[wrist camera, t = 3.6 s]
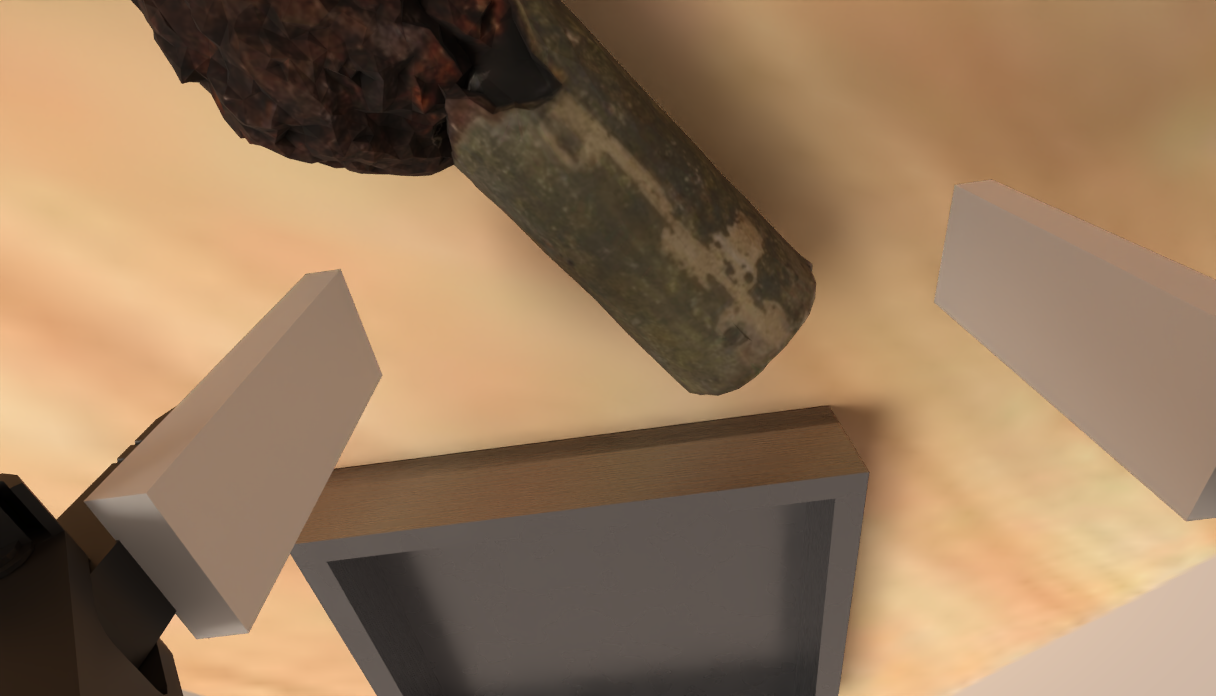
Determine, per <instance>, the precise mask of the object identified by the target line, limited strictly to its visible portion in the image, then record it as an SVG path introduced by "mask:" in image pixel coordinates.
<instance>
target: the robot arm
mask: <svg viewBox="0 0 1216 696" xmlns="http://www.w3.org/2000/svg"><path fill="white" fill-rule="evenodd" d="M934 303H935V304H937V305H938V306H939V307H940V308H941V309H942V310H943V311H945V312H946V313H947V314H948V315H949V316H950V317H952V318H953V319H954V320H955V321H956V322H957V323H958V324H960V325H961V326H962V327H963V328H964V329H965V330H966V331H968V332H969V333H970V334H971V335H972V336H973V337H975V338H976V339H977V340H978V341H979V342H980V343H981V344H983V345H984V346H985V347H986V348H987V349H988V350H989V351H991V352H992V353H993V354H994V355H995V356H996V357H998V358H999V359H1000V360H1001V361H1002V362H1003V363H1004V364H1006V365H1007V366H1008V367H1009V368H1010V369H1011V370H1013V371H1014V372H1015V373H1016V374H1017V375H1018V376H1019V377H1021V378H1022V379H1023V380H1024V381H1025V382H1026V383H1027V384H1029V385H1030V386H1031V387H1032V388H1033V389H1034V390H1036V391H1037V392H1038V393H1039V394H1040V395H1041V396H1042V397H1044V398H1045V399H1046V400H1047V401H1048V402H1049V403H1051V404H1052V405H1053V406H1054V407H1055V408H1056V409H1057V410H1059V411H1060V412H1061V413H1062V414H1063V415H1064V416H1065V417H1067V418H1068V419H1069V420H1070V421H1071V422H1072V423H1074V424H1075V425H1076V426H1077V427H1078V428H1079V429H1080V430H1082V431H1083V432H1084V433H1085V434H1086V435H1087V436H1089V437H1090V438H1091V439H1092V440H1093V441H1094V442H1095V443H1097V444H1098V445H1099V446H1100V447H1101V448H1102V449H1103V450H1105V451H1106V452H1107V453H1108V454H1109V455H1110V456H1112V457H1113V458H1114V459H1115V460H1116V461H1117V462H1118V463H1120V464H1121V465H1122V466H1123V467H1124V468H1125V469H1126V470H1128V471H1129V472H1130V473H1131V474H1132V475H1133V476H1135V477H1136V478H1137V479H1138V480H1139V481H1140V482H1141V483H1143V484H1144V485H1145V486H1146V487H1147V488H1148V489H1150V490H1151V491H1152V492H1153V493H1154V494H1155V495H1156V496H1158V497H1159V498H1160V499H1161V500H1162V501H1163V502H1164V503H1166V504H1167V505H1168V506H1169V507H1170V508H1171V509H1173V510H1174V511H1175V512H1176V513H1177V514H1178V515H1179V516H1181V517H1182V518H1183V519H1184V520H1185V521H1193V520H1201V519H1209V518H1216V280H1215V279H1213V278H1211V277H1208V276H1206V275H1204V274H1202V273H1199V272H1197V271H1195V270H1193V269H1190V268H1188V267H1186V266H1184V265H1182V264H1179V263H1177V262H1175V261H1173V260H1170V259H1168V258H1166V257H1164V256H1162V255H1159V254H1157V253H1155V252H1153V251H1150V250H1148V249H1146V248H1144V247H1141V246H1139V245H1137V244H1135V243H1133V242H1130V241H1128V240H1126V239H1124V238H1121V237H1119V236H1117V235H1115V234H1112V233H1110V232H1108V231H1106V230H1104V229H1101V228H1099V227H1097V226H1095V225H1092V224H1090V223H1088V222H1086V221H1084V220H1081V219H1079V218H1077V217H1075V216H1072V215H1070V214H1068V213H1066V212H1063V211H1061V210H1059V209H1057V208H1055V207H1052V206H1050V205H1048V204H1046V203H1043V202H1041V201H1039V200H1037V199H1034V198H1032V197H1030V196H1028V195H1026V194H1023V193H1021V192H1019V191H1017V190H1014V189H1012V188H1010V187H1008V186H1006V185H1003V184H1001V183H999V182H997V181H994V180H992V179H991V180H984V181H977V182H970V183H962V184H955V186H954V192H953V197H952V203H951V209H950V214H949V220H948V226H947V231H946V237H945V243H944V248H943V254H942V260H941V265H940V271H939V277H938V282H937V288H936V294H935V299H934ZM381 377H382V373H381V370H380V368H379V365H378V363H377V360H376V358H375V355H374V353H373V350H372V348H371V345H370V343H369V340H368V337H367V335H366V332H365V330H364V327H363V325H362V322H361V320H360V317H359V315H358V312H357V309H356V307H355V304H354V302H353V299H352V297H351V294H350V292H349V289H348V287H347V284H346V282H345V279H344V276H343V274H342V271H341V269H338V270H331V271H324V272H316V273H309V274H305V275H304V276H303V277H302V278H301V279H300V280H299V281H298V282H297V284H296V285H295V286H294V287H293V288H292V289H291V290H290V291H289V292H288V293H287V294H286V295H285V296H284V297H283V298H282V299H281V300H280V301H279V302H278V303H277V304H276V305H275V306H274V307H273V308H272V309H271V310H270V311H269V312H268V313H267V314H266V315H265V316H264V317H263V318H262V319H261V320H260V321H259V322H258V323H257V324H256V325H255V326H254V327H253V328H252V330H251V331H250V332H249V333H248V334H247V335H246V336H245V337H244V338H243V339H242V340H241V341H240V342H239V343H238V344H237V345H236V346H235V347H234V348H233V349H232V350H231V351H230V352H229V353H228V354H227V355H226V356H225V357H224V358H223V359H222V360H221V361H220V362H219V363H218V364H217V365H216V366H215V367H214V368H213V369H212V370H211V371H210V372H209V373H208V375H207V376H206V377H205V378H204V379H203V380H202V381H201V382H200V383H199V384H198V385H197V386H196V387H195V388H194V389H193V390H192V391H191V392H190V393H189V394H188V395H187V396H186V397H185V398H184V399H183V400H182V401H181V402H180V403H179V404H178V405H177V406H176V407H174V408H173V409H171V410H170V411H168V412H167V413H165V414H164V415H162V416H161V417H159V418H158V419H156V420H155V421H154V422H153V423H152V424H151V425H150V426H149V427H148V428H147V429H146V430H145V431H144V432H143V433H142V434H141V435H140V436H139V437H138V438H137V439H136V440H135V445H130V446H129V447H128V448H127V449H126V450H125V451H124V452H123V453H122V454H121V455H120V456H119V457H118V458H117V460H118V462H117V463H113V464H111V465H110V466H109V467H108V468H107V469H106V470H105V472H104V473H103V474H102V475H101V476H100V477H99V478H98V479H97V480H96V481H95V482H94V483H93V484H92V485H91V486H90V487H89V488H88V489H87V490H86V491H85V492H84V493H83V494H82V495H81V496H80V497H79V498H78V499H77V500H76V501H75V502H74V503H73V504H72V505H71V506H70V507H69V508H68V509H67V510H66V511H65V512H64V513H63V514H62V515H61V516H60V517H59V518H58V519H57V520H56V519H55V518H54V516H53V515H52V514H51V513H50V512H49V511H48V510H47V508H46V507H45V506H44V505H43V504H42V503H41V502H40V500H39V499H38V498H37V497H36V496H35V495H34V494H33V492H32V491H31V490H30V489H29V488H28V487H27V486H26V484H25V483H24V482H23V481H22V480H21V479H20V477H19V476H18V475H12V474H3V473H2V474H0V696H183V693H182V689H181V686H180V682H179V678H178V674H177V670H176V666H175V662H174V658H173V655H172V653H171V651H170V650H169V649H168V647H167V646H166V645H165V644H164V643H163V641H162V640H161V639H160V636H161V634H162V633H163V631H164V630H165V628H166V627H167V625H168V624H169V622H170V621H171V619H172V618H173V616H174V615H175V614H176V615H177V616H178V617H179V618H180V620H181V621H182V622H183V623H184V625H185V626H186V627H187V628H188V629H189V631H190V632H191V633H192V634H193V636H194V637H195V638H196V639H203V638H211V637H220V636H228V635H237V634H245V633H249V632H250V630H251V628H252V626H253V624H254V622H255V620H256V618H257V616H258V614H259V612H260V610H261V608H262V606H263V605H264V603H265V601H266V599H267V597H268V595H269V593H270V591H271V589H272V587H273V585H274V583H275V581H276V579H277V577H278V576H279V574H280V572H281V570H282V568H283V566H284V564H285V562H286V560H287V558H288V556H289V554H290V552H291V550H292V549H293V547H294V545H295V543H296V541H297V539H298V537H299V535H300V533H301V531H302V529H303V527H304V525H305V523H306V521H307V520H308V518H309V516H310V514H311V512H312V510H313V508H314V506H315V504H316V502H317V500H318V498H319V496H320V494H321V492H322V491H323V489H324V487H325V485H326V483H327V481H328V479H329V477H330V475H331V473H332V471H333V469H334V467H335V465H336V464H337V462H338V460H339V458H340V456H341V454H342V452H343V450H344V448H345V446H346V444H347V442H348V440H349V438H350V436H351V435H352V433H353V431H354V429H355V427H356V425H357V423H358V421H359V419H360V417H361V415H362V413H363V411H364V409H365V407H366V406H367V404H368V402H369V400H370V398H371V396H372V394H373V392H374V390H375V388H376V386H377V384H378V382H379V380H380V379H381Z"/></svg>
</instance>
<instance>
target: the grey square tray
mask: <svg viewBox="0 0 1216 696" xmlns="http://www.w3.org/2000/svg"><path fill="white" fill-rule="evenodd" d="M868 477H869V471H868V469H867V468H866V466H865V464H864V463H863V461H862V459H861V458H860V456H859V454H858V453H857V451H856V450H855V448H854V446H853V445H852V443H851V441H850V440H849V438H848V436H847V435H846V433H845V431H844V430H843V428H842V426H841V425H840V423H839V421H838V420H837V418H836V417H835V415H834V413H833V412H832V410H831V408H830V407H829V406H823V407H816V408H808V409H800V410H792V411H785V412H777V413H769V414H761V415H754V416H746V417H738V418H730V419H722V420H715V421H707V422H699V423H691V424H684V425H676V426H668V427H660V428H653V429H645V430H637V431H629V432H621V433H614V434H606V435H598V436H590V437H583V438H575V439H567V440H559V441H551V442H544V443H536V444H528V445H520V446H513V447H505V448H497V449H489V450H482V451H474V452H466V453H458V454H450V455H443V456H435V457H427V458H419V459H412V460H404V461H396V462H388V463H381V464H373V465H365V466H357V467H349V468H342V469H334V470H333V471H332V473H331V475H330V477H329V479H328V481H327V483H326V485H325V487H324V489H323V491H322V492H321V494H320V496H319V498H318V500H317V502H316V504H315V506H314V508H313V510H312V512H311V514H310V516H309V518H308V520H307V521H306V523H305V525H304V527H303V529H302V531H301V533H300V535H299V537H298V539H297V541H296V543H295V545H294V547H293V549H292V550H291V552H290V554H291V556H292V557H293V559H294V561H295V562H296V564H297V565H298V567H299V569H300V570H301V572H302V574H303V575H304V577H305V579H306V580H307V582H308V583H309V585H310V587H311V588H312V590H313V592H314V593H315V595H316V597H317V598H318V600H319V601H320V603H321V605H322V606H323V608H324V610H325V611H326V613H327V615H328V616H329V618H330V619H331V621H332V623H333V624H334V626H335V628H336V629H337V631H338V633H339V634H340V636H341V637H342V639H343V641H344V642H345V644H346V646H347V647H348V649H349V651H350V652H351V654H352V655H353V657H354V659H355V660H356V662H357V664H358V665H359V667H360V669H361V670H362V672H363V673H364V675H365V677H366V678H367V680H368V682H369V683H370V685H371V687H372V688H373V690H374V691H375V693H376V695H377V696H838V693H839V686H840V679H841V672H842V665H843V657H844V650H845V643H846V636H847V628H848V621H849V614H850V607H851V600H852V592H853V585H854V578H855V571H856V564H857V556H858V549H859V542H860V535H861V528H862V520H863V513H864V506H865V499H866V491H867V484H868Z"/></svg>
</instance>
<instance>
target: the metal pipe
mask: <svg viewBox="0 0 1216 696" xmlns="http://www.w3.org/2000/svg"><path fill="white" fill-rule="evenodd" d="M131 1H132V2H133V3H134V4H135V5H136V6H137V7H138V8H139V9H140V10H141V12H142V13H143V14H144V16H145V18H146V20H147V22H148V23H149V25H150V26H151V28H152V29H153V32H154V39H155V41H156V42H157V44H158V45H159V47H160V48H161V50H162V51H163V53H164V55H165V56H166V58H167V59H168V61H169V62H170V64H171V65H172V67H173V68H174V70H175V72H176V74H177V76H178V78H179V80H180V81H181V83H182V84H183V83H187V82H200V84H201V85H202V86H203V87H204V88H205V89H206V90H207V91H208V92H210V93H211V95H212V97H213V99H214V101H215V102H216V104H217V106H218V108H219V110H220V112H221V114H222V116H223V118H224V120H225V121H226V122H227V123H228V124H229V126H230V127H231V128H232V129H233V130H234V131H235V132H236V134H237V135H238V136H239V137H240V138H246V139H247V141H248V142H249V144H255V145H261V146H263V147H265V148H267V149H270V150H272V151H274V152H276V153H278V154H280V155H283V156H285V157H287V158H290V159H294V160H298V161H302V162H307V163H311V164H312V163H316V162H319V163H322V164H325V165H328V166H331V167H334V168H346V169H348V170H349V171H353V172H357V173H361V174H391V175H401V176H426V175H432V174H435V173H437V172H440V171H442V170H444V169H446V168H448V167H450V166H452V165H455V166H456V167H457V168H458V169H459V170H460V171H461V172H462V173H463V174H465V175H466V176H467V177H468V178H469V179H470V180H471V181H472V182H473V184H474V185H475V186H476V187H477V188H478V189H479V190H480V191H481V192H483V193H484V194H485V195H486V196H487V197H488V198H489V199H490V200H492V201H493V202H494V203H495V204H496V205H497V206H498V207H499V208H500V209H502V210H503V211H504V212H505V213H506V214H507V215H508V216H509V217H510V218H511V219H512V220H513V221H514V222H515V223H516V224H517V225H518V226H519V227H520V228H521V229H522V230H523V231H524V232H525V233H526V234H527V235H528V236H529V237H530V238H531V239H532V240H533V241H534V242H535V243H536V244H537V245H538V246H539V247H540V248H541V249H542V250H543V251H544V252H545V253H546V254H547V255H548V256H549V257H550V258H551V259H552V260H553V261H555V262H556V263H557V264H558V265H559V266H560V267H561V268H562V269H563V270H564V271H565V272H566V273H568V274H569V275H570V276H571V277H572V278H573V279H574V280H575V281H576V282H577V283H578V284H579V285H581V286H582V287H583V288H584V289H585V290H586V291H587V292H588V293H589V294H590V295H591V296H592V297H593V298H594V299H595V300H596V301H597V302H598V303H599V304H600V305H601V306H602V307H603V308H604V309H605V310H606V311H607V312H608V313H609V314H610V315H611V316H612V317H613V318H614V320H615V321H616V322H617V323H618V324H619V325H620V326H621V327H622V328H623V329H624V330H625V331H626V332H627V333H628V334H629V335H630V336H631V337H632V338H633V339H634V340H635V341H636V342H637V343H638V344H639V345H640V346H641V347H642V348H643V349H644V350H645V351H646V352H647V353H648V354H649V355H651V356H652V357H653V358H654V359H655V360H656V361H657V362H658V363H659V364H660V365H661V366H662V367H663V368H664V369H665V370H666V371H667V372H668V373H669V374H670V375H671V376H672V377H673V378H674V379H675V380H676V381H678V382H679V383H680V384H681V385H682V386H683V387H684V388H685V389H686V390H687V391H688V392H689V393H694V394H699V395H705V394H708V395H717V396H718V395H721V394H724V393H728V392H731V391H733V390H736V389H739V388H741V387H742V386H743V385H745V384H746V383H748V382H749V381H751V380H752V379H753V378H755V377H756V376H757V375H758V374H759V373H760V372H761V371H762V370H763V369H764V368H765V367H766V365H767V364H768V363H769V362H770V361H771V360H772V359H773V358H774V357H775V356H776V355H777V354H778V353H779V352H780V351H781V350H782V349H783V348H784V347H785V346H786V345H787V344H788V343H789V341H790V340H791V339H792V337H793V336H794V335H795V334H796V332H797V331H798V330H799V328H800V327H801V326H802V324H803V323H804V322H805V320H806V319H807V317H808V315H809V314H810V311H811V308H812V305H813V302H814V299H815V291H816V282H815V278H814V276H813V274H812V272H811V271H812V264H811V263H810V262H809V261H807V260H806V259H805V258H803V257H802V256H801V255H800V254H799V253H798V252H797V251H795V250H794V249H793V248H792V247H791V246H790V245H789V244H788V243H787V242H786V241H785V240H784V239H783V238H782V236H781V235H780V234H779V233H778V232H777V231H776V230H775V229H774V228H773V227H772V226H771V225H770V224H769V223H768V222H767V221H766V220H765V219H764V218H763V217H762V216H761V215H760V213H759V212H758V211H757V210H756V209H755V208H754V207H753V206H752V205H751V203H750V202H749V201H748V200H747V199H746V198H745V197H744V196H743V195H742V194H741V193H740V192H739V191H738V190H737V189H736V188H735V187H734V186H733V185H732V184H731V183H730V182H729V181H728V180H727V179H726V178H725V177H724V176H723V175H722V174H721V173H720V172H719V171H718V170H717V169H716V168H715V167H714V165H713V164H712V163H711V162H710V161H709V160H708V158H707V157H706V156H705V155H704V154H703V153H702V151H701V150H700V149H699V148H698V147H697V146H696V145H695V144H694V143H693V142H692V141H691V140H690V139H689V137H688V136H687V135H686V134H685V133H684V132H683V131H682V130H681V129H680V128H679V127H678V126H677V125H676V124H675V123H674V122H673V121H672V120H671V119H670V118H669V117H668V115H667V114H666V113H665V112H664V111H663V110H662V109H661V108H660V107H659V106H658V105H657V104H656V103H655V102H654V101H653V100H652V99H651V97H650V96H649V95H648V94H647V93H646V92H645V91H644V90H643V89H642V88H641V87H640V86H639V85H638V84H637V82H636V81H635V80H634V79H633V78H632V77H631V76H630V75H629V74H628V73H627V72H626V71H625V70H624V69H623V67H622V66H621V65H620V64H619V63H618V62H617V61H616V60H615V59H614V58H613V57H612V56H611V54H610V53H609V52H608V51H607V50H606V49H605V48H604V47H603V46H602V45H601V43H600V42H599V41H598V40H597V39H596V38H595V37H594V36H593V35H592V34H591V33H590V31H589V30H588V29H587V28H586V27H585V26H584V25H583V24H582V23H581V22H580V20H579V19H578V18H577V17H576V16H575V15H574V14H573V13H572V12H571V11H570V10H569V9H568V8H567V7H566V6H565V5H564V4H563V3H562V2H561V1H560V0H131Z"/></svg>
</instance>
